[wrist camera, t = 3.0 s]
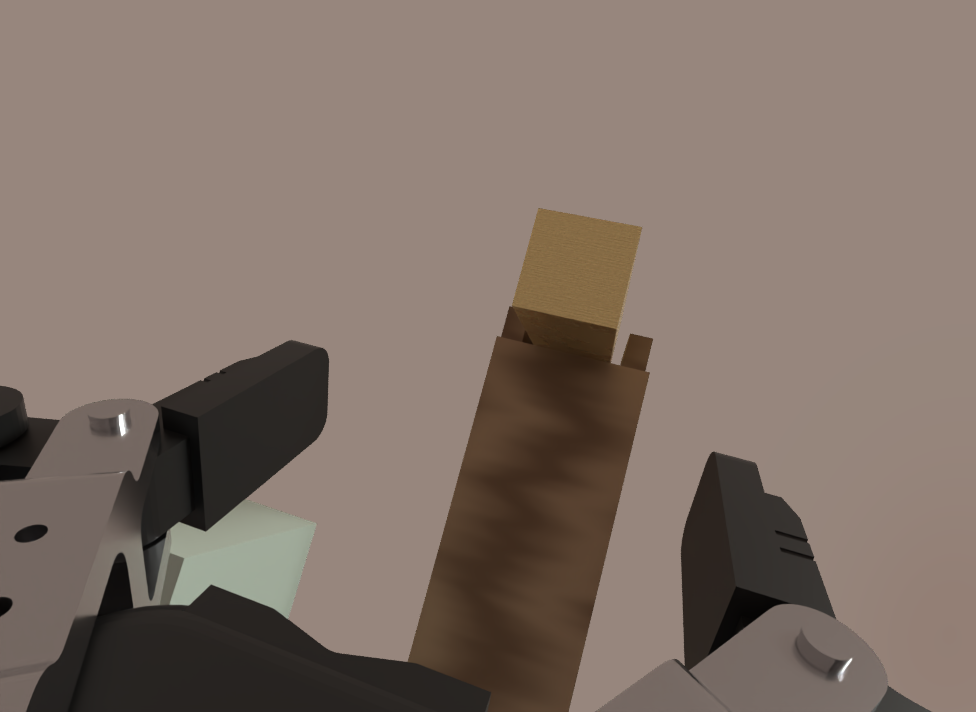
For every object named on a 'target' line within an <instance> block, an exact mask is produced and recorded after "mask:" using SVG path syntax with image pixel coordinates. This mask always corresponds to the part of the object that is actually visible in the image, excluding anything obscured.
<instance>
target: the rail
mask: <svg viewBox="0 0 976 712" xmlns="http://www.w3.org/2000/svg"><path fill="white" fill-rule="evenodd" d="M641 230H642V227H638V226H633V225H627V224H622V223H616V222H611V221H606V220H600V219H595V218H589V217H584V216H578V215H573V214H568V213H562V212H556V211H551V210H546V209H540V208H539V209H538V212H537V216H536V219H535V223H534V227H533V230H532V234H531V238H530V241H529V245H528V249H527V252H526V256H525V260H524V263H523V267H522V271H521V274H520V278H519V282H518V286H517V289H516V293H515V297H514V300H513V304H512V307H513V308H514V310H515V312H516V314H517V316H518V318H519V319H520V321H521V323H522V325H523V327H524V328H525V330H526V332H527V334H528V336H529V338H530V339H531V341H532V343H533V345H536V346H540V347H545V348H549V349H553V350H557V351H561V352H565V353H570V354H574V355H578V356H582V357H586V358H591V359H595V360H599V361H603V362H607V363H611V360H612V356H613V352H614V348H615V344H616V340H617V336H618V332H619V328H620V323H621V319H622V314H623V310H624V306H625V301H626V296H627V292H628V288H629V284H630V278H631V274H632V270H633V266H634V261H635V257H636V252H637V248H638V244H639V239H640V234H641Z"/></svg>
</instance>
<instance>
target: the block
mask: <svg viewBox="0 0 976 712" xmlns="http://www.w3.org/2000/svg"><path fill="white" fill-rule="evenodd" d="M315 527H316V523H314V522H311V521H308V520H305V519H302V518H299V517H296V516H293V515H290V514H287V513H284V512H282V511H279V510H276V509H273V508H270V507H267V506H264V505H261V504H258V503H255V502H252V501H249V500H246V499H245V500H243V501H242V502H241V503H240V504H239V505H237V506H236V507H235V508H234V509H233V510H231V511H230V512H229V513H228V514H227V515H225V516H224V517H223V518H222V519H221V520H219V521H218V522H217V523H216V524H215V525H213V526H212V527H211V528H210V529H209V530H207V531H206V532H205V531H202V530H200V529H197V528H194V527H191V526H189V525H186V524H183V523H180V522H178V523H177V524H176V525H174V526H173V527H172V528H170V529H171V539H172V542H171V549H170V554H169V559H168V564H167V570H166V575H165V580H164V585H163V590H162V595H161V601H160V605H190V604H191V603H192V602H193V601H194V600H195V599H196V598H197V597H198V596H199V595H200V594H201V593H203V592H204V591H205V590H206V589H207V588H208V587H209V586H210V585H214V586H217V587H219V588H222V589H224V590H227V591H230V592H232V593H235V594H237V595H240V596H243V597H245V598H248V599H250V600H253V601H256V602H258V603H261V604H263V605H266V606H269V607H271V608H274V609H275V610H276V611H278V612H279V613H280V614H282V615H283V616H284V617H286V618H287V619H288V617H289V614H290V611H291V607H292V604H293V601H294V598H295V594H296V591H297V588H298V584H299V581H300V578H301V574H302V571H303V568H304V564H305V561H306V558H307V554H308V551H309V548H310V544H311V541H312V538H313V534H314V531H315Z"/></svg>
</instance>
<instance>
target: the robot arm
mask: <svg viewBox="0 0 976 712" xmlns="http://www.w3.org/2000/svg"><path fill="white" fill-rule="evenodd" d="M328 372H329V358H328V354H327V352H326V350H325V349H323V348H320V347H316V346H312V345H309V344H305V343H300V342H297V341H293V340H291V341H287V342H285V343H283V344H282V345H279V346H278V347H275V348H274V349H272V350H270V351H268V352H266V353H264V354H262V355H260V356H258V357H254V358H250V359H246V360H241V361H239V362H236V363H234V364H232V365H230V366H228V367H226V368H224V369H222V370H220V373H214V374H212V375H210V376H208V377H206V378H205V379H204V381H201V380H200V381H198V382H196V383H194V384H192V385H190V386H188V387H186V388H184V389H182V390H180V391H178V392H176V393H174V394H172V395H170V396H168V397H166V398H164V399H162V400H160V401H158V402H156V403H154V404H150V403H147V402H144V401H141V400H134V399H111V400H104V401H99V402H94V403H90V404H87V405H84V406H81V407H79V408H76V409H74V410H72V411H70V412H69V413H67V414H66V415H65V416H64V417H62V419H61V420H52V419H41V418H30V417H27V414H26V409H25V404H24V399H23V395H22V394H21V392H20V391H18V390H16V389H13V388H10V387H5V386H0V712H488V707H489V702H490V697H491V692H490V691H487V690H484V689H482V688H479V687H477V686H474V685H471V684H469V683H466V682H464V681H461V680H458V679H456V678H453V677H451V676H448V675H445V674H443V673H440V672H438V671H435V670H432V669H430V668H427V667H425V666H422V665H419V664H417V663H410V662H403V661H395V660H386V659H379V658H371V657H364V656H356V655H348V654H340V653H335V652H332V651H330V650H328V649H326V648H325V647H323V646H322V645H321V644H320V643H318V642H317V641H316V640H314V639H313V638H312V637H310V636H309V635H308V634H307V633H305V632H304V631H303V630H301V629H300V628H299V627H297V626H296V625H295V624H293V623H292V622H291V621H290V620H288V619H287V618H286V617H284V616H283V615H282V614H280V613H279V612H278V611H276V610H275V609H274V608H271V607H269V606H266V605H263V604H261V603H258V602H256V601H253V600H250V599H248V598H245V597H243V596H240V595H237V594H235V593H232V592H230V591H227V590H224V589H222V588H219V587H217V586H214V585H210V586H209V587H208V588H207V589H206V590H205V591H204V592H203V593H201V594H200V595H199V596H198V597H197V598H196V599H195V600H194V601H193V602H192V603H191V604H190V605H160V601H161V595H162V590H163V585H164V580H165V575H166V570H167V564H168V559H169V554H170V549H171V542H172V539H171V529H170V528H172V527H173V526H174V525H176V524H177V523H178V522H180V523H183V524H186V525H189V526H191V527H194V528H197V529H200V530H202V531H205V532H206V531H207V530H209V529H210V528H211V527H212V526H213V525H215V524H216V523H217V522H218V521H219V520H221V519H222V518H223V517H224V516H225V515H227V514H228V513H229V512H230V511H231V510H233V509H234V508H235V507H236V506H237V505H239V504H240V503H241V502H242V501H243V500H245V499H246V498H247V497H248V496H249V495H251V494H252V493H253V492H254V491H255V490H257V488H259V487H260V486H261V485H263V484H264V483H265V482H266V481H267V480H268V479H270V478H271V477H272V476H273V475H275V474H276V473H277V472H278V471H279V470H281V469H282V468H283V467H284V466H285V465H287V464H288V463H289V462H290V461H291V460H292V459H294V458H295V457H296V456H297V455H299V454H300V453H301V452H302V451H303V450H304V449H306V448H307V447H308V446H309V445H311V444H312V443H313V442H314V441H315V440H316V439H317V438H318V437H319V435H320V434H321V432H322V430H323V428H324V425H325V422H326V418H327V406H328V374H329V373H328ZM807 540H808V539H807V536H806V533H805V531H804V528H803V525H802V522H801V519H800V518H799V517H798V515H797V514H796V513H795V512H794V511H793V510H792V509H791V508H790V506H789V505H788V504H787V503H786V502H785V501H784V500H783V499H782V498H781V497H778V496H774V495H770V494H767V493H764V489H763V486H762V482H761V479H760V475H759V471H758V468H757V465H756V463H754V462H751V461H747V460H743V459H739V458H736V457H732V456H728V455H724V454H720V453H717V452H712V453H711V454H710V456H709V458H708V460H707V463H706V465H705V468H704V471H703V474H702V477H701V480H700V483H699V486H698V488H697V491H696V494H695V497H694V500H693V503H692V506H691V509H690V512H689V515H688V517H687V521H686V524H685V528H684V533H683V538H682V546H681V566H682V593H683V594H682V596H683V627H684V654H685V655H684V657H685V666H684V665H683V664H682V663H681V662H680V661H678V660H677V659H672V660H669V661H667V662H665V663H663V664H662V665H660V666H659V667H657V668H655V669H654V670H653V671H651V672H650V673H648V674H647V675H646V676H644V677H643V678H641V679H640V680H639V681H637V682H636V683H635V684H633V685H632V686H630V687H629V688H628V689H626V690H625V691H623V692H622V693H621V694H619V695H618V696H616V697H615V698H614V699H612V700H611V701H609V702H608V703H607V704H605V705H604V706H602V707H601V708H600V709H598V710H597V711H596V712H931V711H929V710H927V709H925V708H924V707H922V706H920V705H918V704H916V703H914V702H913V701H911V700H909V699H908V698H906V697H904V696H903V695H901V694H899V693H898V692H896V691H895V690H894V689H892V688H891V687H889V686H888V680H887V674H886V672H885V669H884V667H883V665H882V663H881V661H880V660H879V658H878V657H877V655H876V654H875V652H874V651H873V650H872V649H871V648H870V647H869V645H868V644H867V643H866V642H865V641H864V640H863V639H862V638H860V637H859V636H858V635H857V634H856V633H855V632H854V631H852V630H851V629H849V628H848V627H847V626H846V625H844V624H842V623H841V622H839V621H838V620H836V617H835V614H834V612H833V609H832V606H831V603H830V600H829V598H828V595H827V592H826V589H825V586H824V584H823V581H822V578H821V576H820V572H819V570H818V567H817V564H816V562H815V561H813V559H814V556H813V553H812V550H811V547H810V545H809V544H808V543H807Z"/></svg>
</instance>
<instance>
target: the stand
mask: <svg viewBox="0 0 976 712" xmlns="http://www.w3.org/2000/svg"><path fill="white" fill-rule="evenodd" d="M652 341H653V339H652V338H647V337H643V336H638V335H634V334H630V336H629V339H628V342H627V345H626V348H625V351H624V354H623V358H622V361H621V365H615V364H612V363H607V362H603V361H599V360H595V359H591V358H586V357H582V356H578V355H574V354H570V353H565V352H561V351H557V350H553V349H549V348H545V347H540V346H536V345H533V343H532V341H531V339H530V338H529V336H528V334H527V332H526V330H525V328H524V327H523V325H522V323H521V321H520V319H519V318H518V316H517V314H516V312H515V310H514V308H513V307H509V310H508V314H507V318H506V322H505V325H504V329H503V332H502V336H501V337H498V336H497V338H496V342H495V345H494V349H493V353H492V356H491V360H490V364H489V367H488V371H487V375H486V378H485V382H484V386H483V389H482V393H481V397H480V400H479V404H478V407H477V411H476V415H475V418H474V422H473V426H472V429H471V433H470V437H469V441H468V444H467V447H466V451H465V455H464V458H463V462H462V466H461V469H460V473H459V477H458V481H457V484H456V488H455V491H454V495H453V499H452V502H451V506H450V510H449V513H448V517H447V521H446V524H445V528H444V532H443V535H442V539H441V542H440V546H439V550H438V553H437V557H436V560H435V564H434V568H433V571H432V575H431V579H430V583H429V586H428V590H427V593H426V597H425V601H424V604H423V608H422V612H421V615H420V619H419V623H418V626H417V630H416V634H415V637H414V641H413V645H412V648H411V652H410V655H409V659H408V662H410V663H417V664H419V665H422V666H425V667H427V668H430V669H432V670H435V671H438V672H440V673H443V674H445V675H448V676H451V677H453V678H456V679H458V680H461V681H464V682H466V683H469V684H471V685H474V686H477V687H479V688H482V689H484V690H487V691H490V692H491V697H490V702H489V707H488V712H569V707H570V703H571V699H572V695H573V691H574V687H575V682H576V678H577V674H578V670H579V666H580V662H581V657H582V653H583V649H584V645H585V641H586V637H587V632H588V628H589V624H590V620H591V616H592V611H593V607H594V603H595V599H596V595H597V590H598V586H599V582H600V578H601V574H602V569H603V566H604V561H605V557H606V553H607V549H608V545H609V540H610V536H611V532H612V528H613V524H614V520H615V515H616V511H617V507H618V503H619V499H620V495H621V491H622V486H623V482H624V478H625V474H626V470H627V465H628V461H629V457H630V453H631V449H632V445H633V440H634V436H635V432H636V428H637V424H638V420H639V415H640V411H641V407H642V403H643V399H644V394H645V390H646V386H647V382H648V378H649V374H650V373H649V372H645V370H646V366H647V362H648V358H649V353H650V349H651V345H652Z"/></svg>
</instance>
